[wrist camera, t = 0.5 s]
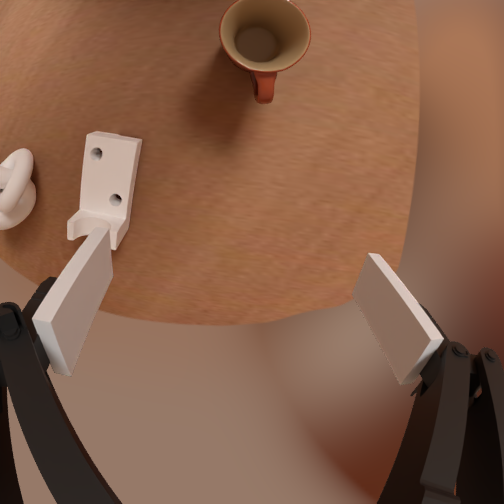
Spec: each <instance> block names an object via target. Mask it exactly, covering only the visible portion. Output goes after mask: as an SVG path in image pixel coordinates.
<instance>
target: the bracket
mask: <svg viewBox="0 0 504 504" xmlns="http://www.w3.org/2000/svg"><path fill="white" fill-rule="evenodd" d="M142 140H143V139H138V138H132V137H126V136H120V134H113V133H106V132H99V131H95V132H92V133H90V134H87V137H86V144H85V152H84V160H83V169H82V180H81V192H80V209H79V210H78V211H77V212H76V213H75V214H74V215H73V216H72V217H71V218H70V219H69V220H68V221H67V239H68V240H73V241H74V240H75V239H76V238H78V237H80V236H84V235H89V234H90V233H91V232H92V231H93V229H94V228H95V227H101V228H109V229H110V245H111V249H112V250H116V249H117V247H118V245H119V244H120V242H121V240H122V239H123V237H124V235H125V234H126V232H127V230H128V229H129V223H130V215H131V207H132V199H133V192H134V186H135V179H136V173H137V167H138V161H139V156H140V151H141V145H142ZM99 148H100V149H101V151H102V154H101V153H100V151H99ZM115 194H118V195H119V196H120V197H121V199H122V200H120V199H118V198H117V197H116V195H115Z"/></svg>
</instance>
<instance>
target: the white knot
mask: <svg viewBox="0 0 504 504" xmlns="http://www.w3.org/2000/svg"><path fill="white" fill-rule="evenodd" d="M32 170H33V155H32V153H31V151H30V150H28V149H26V148H22V149H18V150H16V151H14V152H13V153H12V154H10V155H9V156H8V157H7V158H6V159H5V160H4V161H3V162H2V163H1V164H0V230H5V229H9V228H12V227H14V226H16V225H18V224H19V223H21V222H22V221H23V220H24V219H25V218H26V217H27V216H28V215H29V214H30V212H31V211H32V209H33V207H34V205H35V201H36V188H35V185H34V183H33V182H32V181H31V179H30V177H31V174H32Z"/></svg>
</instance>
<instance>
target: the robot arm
mask: <svg viewBox="0 0 504 504" xmlns="http://www.w3.org/2000/svg"><path fill="white" fill-rule="evenodd" d="M112 278H113V268H112V257H111V245H110V229H109V228H101V227H95V228H94V229H93V231H92V232H91V233H90V234H89V236H88V237H87V238H86V240H85V241H84V242H83V244H82V245H81V246H80V248H79V249H78V250H77V252H76V253H75V254H74V256H73V257H72V258H71V260H70V261H69V263H68V264H67V265H66V267H65V268H64V270H63V271H62V273H61V274H60V275H59V277H58V278H56V277H49V278H48V279H46V280H45V281H44V282H42V283H41V284H40V286H39V287H38V289H37V290H36V293H34V294H33V296H32V298H31V299H30V300H29V302H28V303H27V305H26V306H25V308H24V309H23V311H22V312H21V309H20V308H19V306H18V305H17V304H15V303H12V302H5V303H1V304H0V504H24V503H23V499H22V495H21V491H20V487H19V483H18V478H17V474H16V469H15V463H14V458H13V451H12V444H11V437H10V428H9V418H8V405H7V387H8V389H9V392H10V396H11V399H12V403H13V406H14V409H15V412H16V415H17V418H18V421H19V423H20V426H21V429H22V431H23V434H24V436H25V439H26V441H27V444H28V446H29V448H30V451H31V453H32V455H33V458H34V460H35V462H36V464H37V466H38V468H39V470H40V473H41V474H42V477H43V479H44V480H45V482H46V484H47V486H48V488H49V490H50V492H51V493H52V495H53V497H54V499H55V501H56V502H57V504H122V503H121V501H120V500H119V499H118V497H117V496H116V495H115V493H114V492H113V490H112V489H111V488H110V487H109V485H108V483H107V482H106V481H105V479H104V478H103V476H102V475H101V473H100V472H99V471H98V469H97V467H96V466H95V464H94V463H93V461H92V459H91V458H90V456H89V454H88V453H87V451H86V449H85V448H84V446H83V444H82V442H81V441H80V439H79V437H78V435H77V434H76V432H75V430H74V428H73V426H72V424H71V423H70V421H69V419H68V417H67V415H66V413H65V411H64V409H63V407H62V404H61V402H60V400H59V399H58V396H57V394H56V392H55V389H54V387H53V385H52V383H51V380H50V378H49V375H48V374H47V369H48V366H49V364H51V367H52V369H53V371H54V373H58V374H62V375H66V376H70V377H71V376H72V373H73V371H74V368H75V365H76V362H77V360H78V357H79V355H80V352H81V350H82V347H83V344H84V342H85V339H86V337H87V334H88V332H89V330H90V327H91V325H92V322H93V320H94V318H95V315H96V313H97V311H98V309H99V306H100V304H101V302H102V300H103V297H104V295H105V293H106V291H107V289H108V286H109V284H110V282H111V280H112ZM352 296H353V298H354V299H355V301H356V303H357V304H358V306H359V308H360V310H361V312H362V313H363V315H364V317H365V319H366V321H367V323H368V324H369V326H370V328H371V330H372V332H373V334H374V336H375V337H376V339H377V341H378V343H379V345H380V347H381V349H382V351H383V352H384V355H385V357H386V359H387V361H388V363H389V364H390V366H391V368H392V370H393V372H394V374H395V376H396V378H397V380H398V382H399V384H400V385H404V384H410V383H413V382H414V381H415V379H416V378H417V377H418V375H419V374H420V375H421V377H422V381H421V382H420V383H419V385H418V386H417V387H416V388H415V390H414V391H413V392H412V394H411V396H413V395H414V394H415V393H417V394H416V397H415V401H414V405H413V408H412V412H411V415H410V418H409V422H408V425H407V428H406V431H405V434H404V437H403V440H402V443H401V446H400V449H399V452H398V454H397V457H396V460H395V463H394V465H393V467H392V470H391V472H390V475H389V477H388V479H387V482H386V484H385V486H384V489H383V491H382V493H381V495H380V498H379V500H378V502H377V504H504V371H503V368H502V365H501V362H500V359H499V357H498V355H497V354H496V353H495V352H494V351H493V350H492V349H489V348H485V347H484V348H482V349H481V350H480V352H479V353H478V355H472V354H469V352H468V350H467V349H466V348H465V347H464V346H463V345H462V344H460V343H458V342H450V341H449V340H448V338H447V337H446V335H445V334H444V332H443V331H442V330H441V328H440V327H439V325H438V324H436V321H435V320H434V319H433V318H432V316H431V315H430V313H429V312H428V311H427V309H425V308H424V307H423V306H422V305H421V304H420V303H418V302H417V301H416V300H415V298H414V297H413V296H412V294H411V293H410V292H409V290H408V289H407V288H406V287H405V285H404V284H403V283H402V282H401V280H400V279H399V278H398V276H397V275H396V274H395V273H394V271H393V270H392V269H391V268H390V267H389V265H388V264H387V263H386V262H385V260H384V259H383V258H382V257H381V256H380V254H373V253H367V256H366V259H365V262H364V264H363V267H362V270H361V272H360V275H359V278H358V280H357V283H356V285H355V288H354V290H353V293H352ZM480 388H482V393H481V395H480V396H479V397H478V398H477V395H476V393H477V392H478V391H479V389H480ZM455 483H456V496H455V495H454V487H455Z"/></svg>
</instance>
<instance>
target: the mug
mask: <svg viewBox="0 0 504 504" xmlns="http://www.w3.org/2000/svg"><path fill="white" fill-rule="evenodd" d="M219 37H220V41H221V44H222V46H223V48H224V50H225V52H226V53H227V56H228V57H229V59H230V60H231V61H232V62H233V64H234V65H235V66H237V67H239V68H240V69H242V70H244V71H247V72H250V76H251V80H252V83H253V89H254V97H255V100H256V102H257V103H259V104H268V103H271V102H272V100H273V96H274V83H275V79H276V76H277V72H279V71H283V70H286V69H288V68H290V67H291V66H293V65H294V64H296V63H297V62H298V61H299V60H300V59H301V58H302V57H303V56H304V55H305V53H306V52H307V50H308V47H309V44H310V40H311V30H310V25H309V22H308V20H307V18H306V16H305V15H304V13H303V12H302V11H301V9H300V8H299V7H298V6H296V5H295V4H294V3H292V2H291V1H289V0H237V1H236V2H234V3H233V4H232V5H231V6H230V7H229V8H228V9H227V10H226V11H225V13H224V15H223V16H222V19H221V22H220V26H219Z"/></svg>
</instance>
